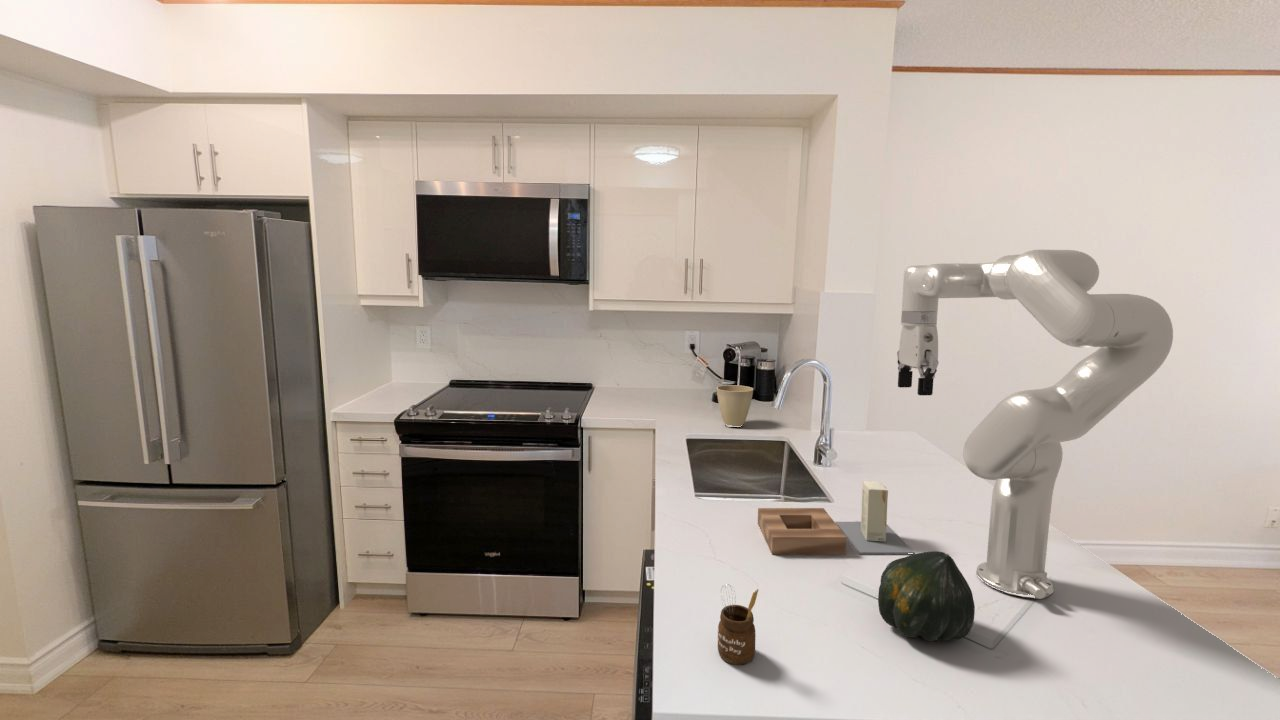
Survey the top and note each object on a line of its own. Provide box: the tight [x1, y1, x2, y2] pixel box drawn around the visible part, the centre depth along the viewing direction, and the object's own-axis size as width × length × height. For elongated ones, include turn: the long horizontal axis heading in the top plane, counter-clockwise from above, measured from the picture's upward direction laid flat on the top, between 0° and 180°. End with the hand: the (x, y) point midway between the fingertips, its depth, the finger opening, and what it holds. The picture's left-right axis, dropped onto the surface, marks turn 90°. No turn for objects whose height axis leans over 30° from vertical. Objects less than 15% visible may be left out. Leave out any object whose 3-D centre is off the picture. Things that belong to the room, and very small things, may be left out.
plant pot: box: [716, 384, 754, 426], centre depth 233 cm, size 15×15×16 cm
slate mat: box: [834, 521, 916, 556], centre depth 132 cm, size 16×12×1 cm
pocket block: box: [757, 507, 847, 556], centre depth 131 cm, size 16×16×4 cm
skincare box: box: [860, 480, 889, 542], centre depth 131 cm, size 6×4×12 cm
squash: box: [877, 550, 976, 642], centre depth 96 cm, size 14×15×15 cm
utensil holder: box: [717, 583, 759, 665], centre depth 90 cm, size 6×6×12 cm
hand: (914, 391), depth 135 cm, fingers open, 9 cm apart
